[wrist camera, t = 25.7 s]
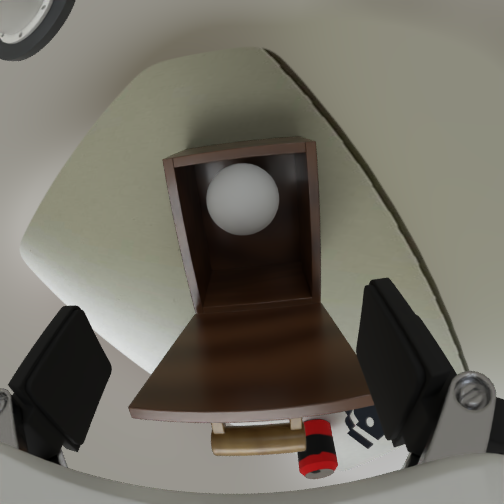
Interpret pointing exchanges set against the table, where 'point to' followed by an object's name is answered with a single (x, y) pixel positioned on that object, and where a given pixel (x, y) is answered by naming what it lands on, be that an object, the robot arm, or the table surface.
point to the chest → (254, 245)
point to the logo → (364, 424)
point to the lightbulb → (242, 199)
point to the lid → (255, 377)
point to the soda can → (318, 450)
